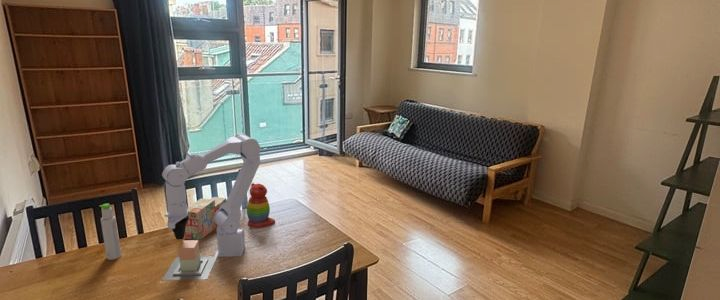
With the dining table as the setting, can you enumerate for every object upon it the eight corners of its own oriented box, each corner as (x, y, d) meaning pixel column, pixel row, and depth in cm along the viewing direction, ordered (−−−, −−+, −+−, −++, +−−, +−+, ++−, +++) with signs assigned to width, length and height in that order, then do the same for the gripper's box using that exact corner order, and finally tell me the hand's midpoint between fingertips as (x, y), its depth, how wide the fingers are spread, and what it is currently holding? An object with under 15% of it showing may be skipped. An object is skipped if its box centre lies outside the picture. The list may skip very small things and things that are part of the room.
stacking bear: (277, 223, 172) (276, 184, 167) (258, 231, 165) (256, 190, 160) (260, 215, 179) (259, 177, 174) (241, 223, 171) (239, 184, 166)
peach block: (199, 251, 139) (198, 240, 137) (195, 259, 134) (194, 247, 133) (184, 252, 138) (183, 240, 137) (179, 260, 133) (178, 248, 132)
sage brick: (200, 263, 140) (199, 251, 139) (196, 271, 135) (195, 259, 134) (185, 263, 139) (184, 252, 138) (180, 272, 135) (179, 260, 133)
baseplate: (217, 257, 145) (217, 254, 144) (206, 280, 131) (206, 277, 131) (176, 258, 143) (176, 255, 143) (161, 281, 130) (161, 278, 130)
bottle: (109, 254, 145) (101, 202, 139) (122, 252, 146) (115, 201, 140) (104, 260, 140) (96, 207, 135) (118, 259, 142) (111, 206, 136)
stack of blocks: (215, 216, 177) (213, 189, 174) (228, 217, 176) (226, 191, 172) (185, 239, 157) (182, 210, 153) (199, 241, 156) (197, 212, 152)
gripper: (171, 192, 139) (174, 228, 143) (155, 210, 125) (159, 249, 129) (192, 192, 140) (195, 228, 144) (179, 210, 126) (183, 249, 130)
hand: (180, 238), depth 136 cm, fingers closed
